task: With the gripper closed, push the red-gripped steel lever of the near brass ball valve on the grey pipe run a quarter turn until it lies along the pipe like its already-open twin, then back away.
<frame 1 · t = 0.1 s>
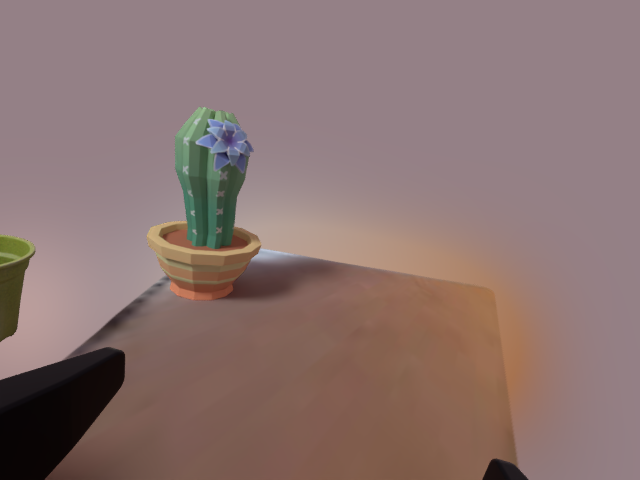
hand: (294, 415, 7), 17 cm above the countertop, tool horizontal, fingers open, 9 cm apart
potted cactus: (202, 287, 47), on the countertop
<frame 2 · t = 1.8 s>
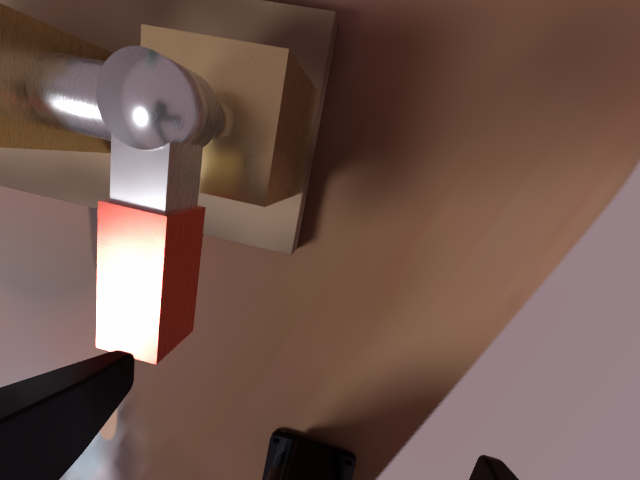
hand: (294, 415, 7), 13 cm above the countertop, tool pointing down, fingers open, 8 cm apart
beige flat board: (147, 112, 20), on the countertop
pipe manifold: (38, 86, 14), on the beige flat board, point 6 cm above the countertop
valve lever: (156, 214, 10), point 10 cm above the countertop, hinge at 0.0°
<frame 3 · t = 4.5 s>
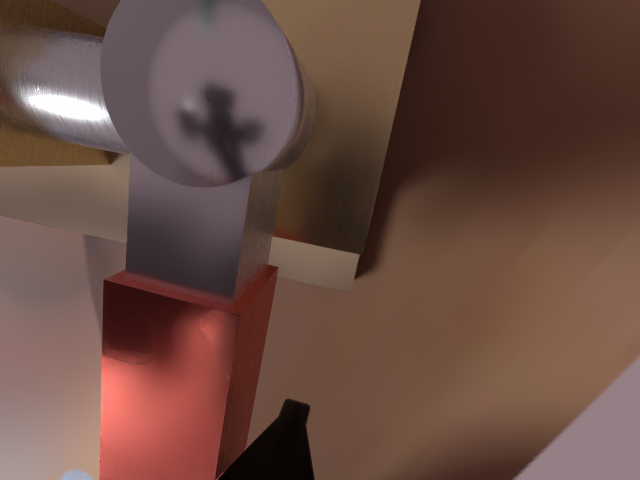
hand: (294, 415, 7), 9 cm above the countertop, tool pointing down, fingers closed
beige flat board: (157, 110, 15), on the countertop
pipe manifold: (2, 75, 9), on the beige flat board, point 6 cm above the countertop
valve lever: (204, 289, 6), point 10 cm above the countertop, hinge at 1.7°, touching gripper
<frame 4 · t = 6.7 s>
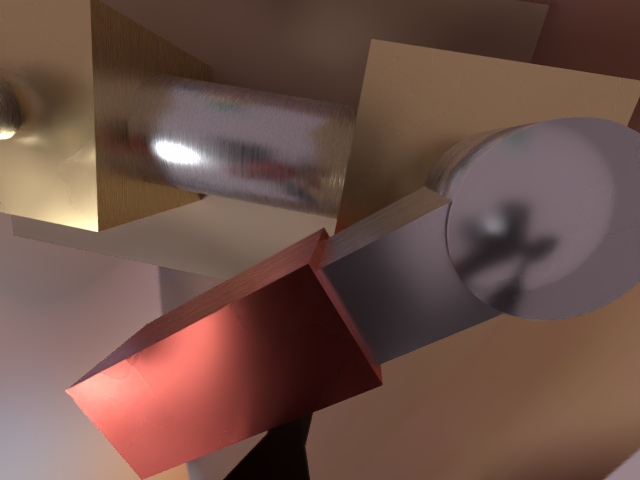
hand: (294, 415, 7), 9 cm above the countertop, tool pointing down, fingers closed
beige flat board: (243, 142, 15), on the countertop
pipe manifold: (147, 132, 9), on the beige flat board, point 6 cm above the countertop
valve lever: (331, 302, 6), point 10 cm above the countertop, hinge at 49.9°, touching gripper
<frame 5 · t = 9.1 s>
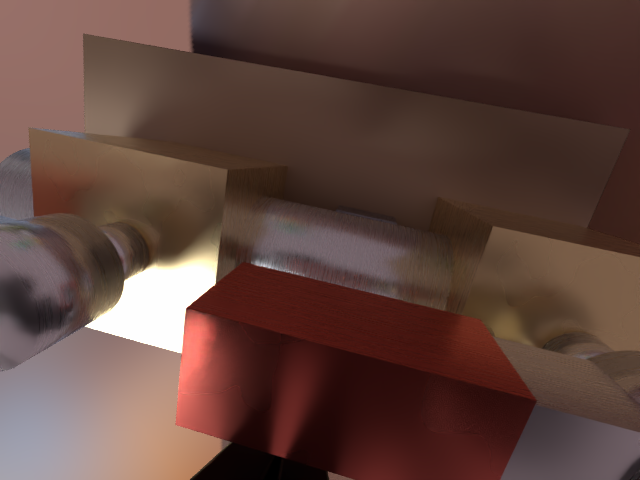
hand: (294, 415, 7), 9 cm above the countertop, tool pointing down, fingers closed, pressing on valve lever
beige flat board: (310, 226, 16), on the countertop
pipe manifold: (253, 264, 10), on the beige flat board, point 6 cm above the countertop
valve lever: (460, 399, 6), point 10 cm above the countertop, hinge at 90.1°, touching gripper
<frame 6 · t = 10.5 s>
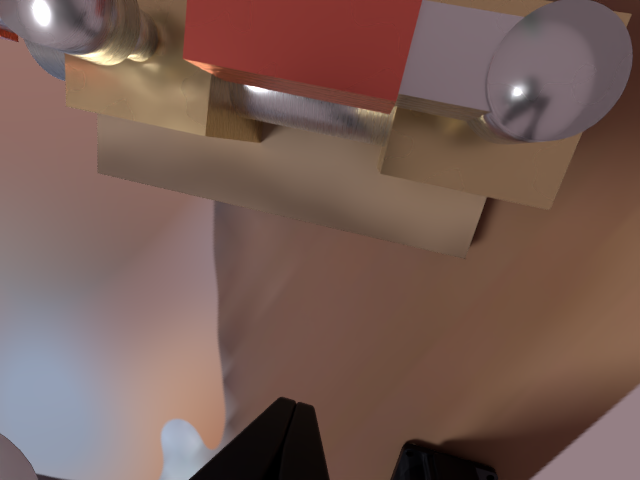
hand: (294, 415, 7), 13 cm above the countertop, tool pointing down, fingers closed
beige flat board: (296, 97, 18), on the countertop
pipe manifold: (243, 63, 12), on the beige flat board, point 6 cm above the countertop
valve lever: (390, 57, 8), point 10 cm above the countertop, hinge at 90.4°
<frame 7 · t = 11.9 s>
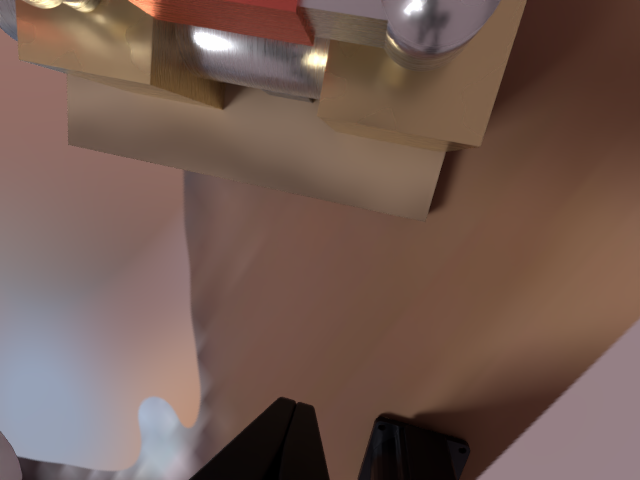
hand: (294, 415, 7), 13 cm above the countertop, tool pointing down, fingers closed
beige flat board: (260, 66, 18), on the countertop
pipe manifold: (188, 15, 12), on the beige flat board, point 6 cm above the countertop
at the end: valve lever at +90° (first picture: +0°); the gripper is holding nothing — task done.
